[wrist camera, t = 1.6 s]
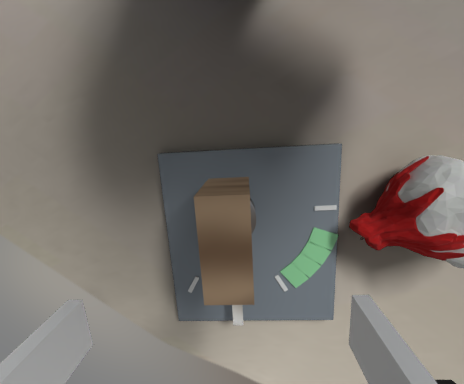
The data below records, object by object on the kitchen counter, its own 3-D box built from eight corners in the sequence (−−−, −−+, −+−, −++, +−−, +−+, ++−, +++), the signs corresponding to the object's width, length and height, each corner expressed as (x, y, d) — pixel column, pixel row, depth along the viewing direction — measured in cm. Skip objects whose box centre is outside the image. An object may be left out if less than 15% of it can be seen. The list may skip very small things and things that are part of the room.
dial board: (161, 153, 28) (156, 154, 27) (338, 143, 26) (343, 143, 25) (181, 314, 33) (178, 321, 32) (330, 312, 32) (334, 320, 30)
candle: (495, 215, 27) (359, 258, 31) (468, 122, 25) (325, 183, 29) (597, 260, 18) (392, 312, 23) (570, 126, 16) (348, 210, 20)
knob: (207, 174, 27) (185, 197, 17) (253, 171, 26) (258, 193, 17) (218, 314, 31) (206, 396, 21) (258, 314, 31) (265, 397, 21)
